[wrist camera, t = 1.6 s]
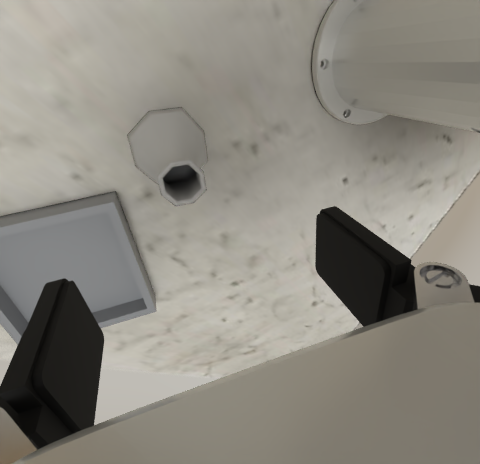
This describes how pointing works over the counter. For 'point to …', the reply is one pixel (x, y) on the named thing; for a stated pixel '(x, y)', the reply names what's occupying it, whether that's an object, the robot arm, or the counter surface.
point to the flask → (171, 153)
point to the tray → (72, 261)
